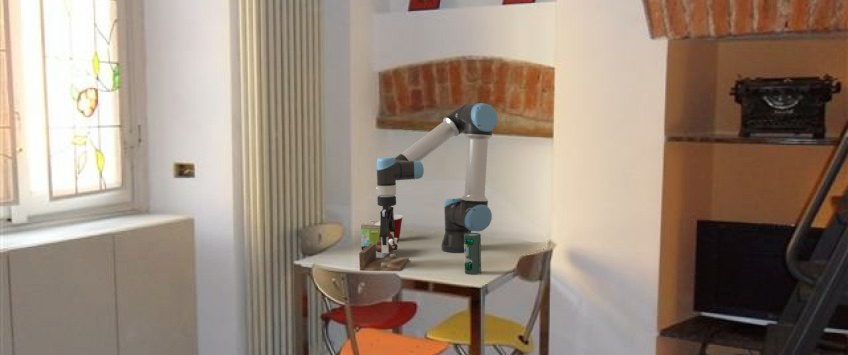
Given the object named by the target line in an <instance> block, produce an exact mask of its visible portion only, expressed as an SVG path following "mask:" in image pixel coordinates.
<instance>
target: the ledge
mask: <svg viewBox="0 0 848 355" xmlns="http://www.w3.org/2000/svg"><path fill="white" fill-rule="evenodd" d="M358 255H359V271H362V272H364V271H365V272H366V271H370V272H371V271H375V272H376V271H377V272H378V271H379V272H380V271H381V272H382V271H383V272H394V271H395V272H400V271H401V270H402V268H404V266H405V265H406V264H407V263H408V262H409V261H410V258H409V257H397V256H396V253H389V257H383V258H376V244H374V243H371V244H370V245H369V246H367V247H366V248H365V249H364V250H362V251H361V250H360V252H359V254H358Z"/></svg>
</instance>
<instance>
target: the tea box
mask: <svg viewBox="0 0 848 355" xmlns="http://www.w3.org/2000/svg"><path fill="white" fill-rule="evenodd" d="M380 220H381V219H369V220H367V221H366V222H363V223H362V224H360V226H361V229H360V231H361V232H360V233H361V234H360V235H361V236H360V238H361V240H360V241H361V242H360V243H361V245H360V246H361V247H360V248H361V250H360V252H361V251H362V250H364V249H365V248H366V247H367V246H369V245H370V244H371V243H374V244H376V245H377V241H378V240H379V235H380ZM390 254H392V252H389V253H381V252H377V251H376V258H386V256H387V255H390Z"/></svg>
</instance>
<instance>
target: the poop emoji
mask: <svg viewBox="0 0 848 355" xmlns="http://www.w3.org/2000/svg"><path fill="white" fill-rule="evenodd" d="M387 237H388V246H389V252H391V253H392V252H394V251H397V250H398V247H399V246H398V243H399V241H398V239H397V238H394V237H393V235H392V234H391V233H390V230H389V228H388V236H387ZM376 251H377V252H381V253H382V248H381V237H379V240H378V241H377V245H376Z"/></svg>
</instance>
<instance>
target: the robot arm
mask: <svg viewBox="0 0 848 355" xmlns="http://www.w3.org/2000/svg"><path fill="white" fill-rule="evenodd" d="M498 118H499V117H498V113H497V111H496V109H495V108H494V107H493V106H492V105H490V104H488V103H483V102H480V103H479V102H478V103H476V102H475V103H464V104H463V105H460V106H458V107H457V108H456V109H455V110H453V111H452V112H450V113H449V114H448V115H447V116H445V117H444V118H443V119H442V120H443V121H442V122H441V123H439V124H438V125H437V126H435V127H434V128H433V129H432V130H431V131H429V132H427V133H426V134H425V135H424V136H422V137H421V138H420V139H418V140H417V141H416V142H414V143H413V144H412V145H411V146H409V147H408V148H407V149H405V150H404V151H403V152H401V153H400V154H398V155H396V156H395V157H393V156H385V157H384V156H382V157H378V158H377V160H376V182H377V183H376V184H377V185H376V187H375V189H376V190H377V195H378V196H377V200H376V201H377V206H379V207H382V210H381V211H380V212H379V213H380V219H379V220H380V235H379V237H381V248H382V253H389V246H388V237H387V236H388V228H389V230H390V233H391V234H392V235H393V237H394V232H395V231H396V229H395V226H394V215H395V214H394V209H395V208H394V207H395V206H396V205H397V197H396V195H397V183H396V181H403V180H404V181H407V180H420V179H421V178H423V176H424V173H425V172H424V170H425V168H424V164H423V163H422V160H423V159H425V158H426V157H427V156H429V155H430V154H431V153H432V152H434V151H435V150H437V149H438V148H439V147H441V146H442V145H443V144H444V143H446V142H447V141H449V140H451V138H453V137H458V136H459V135H460V134H462V133H464V136H465V137H466V138H467V145H466V146H467V148H466V150H467V151H466V164H465V165H466V166H465V184H464V186H465V187H464V194H463V195H462V197H457V198H447V199H445V201H444V206H443V209H444V235H443V238H442V241H441V251H443V252H447V253H464V234H466V233H472V232H482V231H484V230H486V229H487V228H488V227H489V226H490V224H491V223H492V219H493V218H492V217H493V213H492V210H490V207H489V200H488V197H486V194H485V193H486V182H487V181H486V179H487V178H486V177H487V176H486V175H487V163H488V146H489V143H488V142H489V139H490V138H491V137H492V136H493V130H494V129H495V128H496V127H497V124H498V120H499V119H498ZM393 206H394V207H393ZM389 254H390V253H389Z"/></svg>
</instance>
